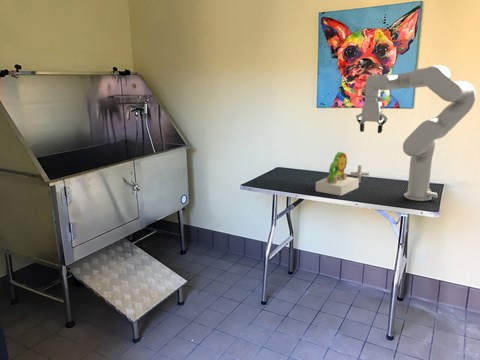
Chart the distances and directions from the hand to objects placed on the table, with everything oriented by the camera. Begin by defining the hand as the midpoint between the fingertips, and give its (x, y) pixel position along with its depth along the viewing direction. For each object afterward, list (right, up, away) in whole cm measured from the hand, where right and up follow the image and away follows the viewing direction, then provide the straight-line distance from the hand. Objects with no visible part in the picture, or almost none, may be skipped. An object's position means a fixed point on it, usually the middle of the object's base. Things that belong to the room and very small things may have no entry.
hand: (370, 132), depth 212 cm
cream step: (-17, -31, +5) cm, 35 cm away
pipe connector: (-1, -27, +17) cm, 32 cm away
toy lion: (-17, -26, +4) cm, 31 cm away
